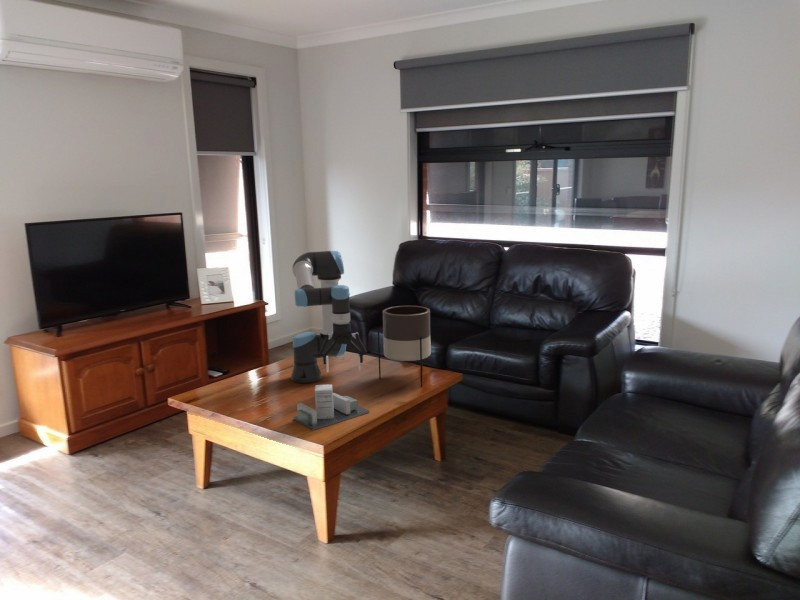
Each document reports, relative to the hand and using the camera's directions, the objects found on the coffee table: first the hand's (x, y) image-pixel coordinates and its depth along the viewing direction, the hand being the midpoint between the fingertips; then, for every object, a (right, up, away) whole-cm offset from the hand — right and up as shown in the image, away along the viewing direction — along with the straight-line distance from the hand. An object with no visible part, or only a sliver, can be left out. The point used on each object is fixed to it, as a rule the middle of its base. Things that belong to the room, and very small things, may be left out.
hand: (343, 370), depth 257 cm
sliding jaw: (0, -17, +3) cm, 17 cm away
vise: (-5, -19, -1) cm, 20 cm away
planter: (+29, -10, +45) cm, 54 cm away
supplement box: (-7, -19, -3) cm, 20 cm away
